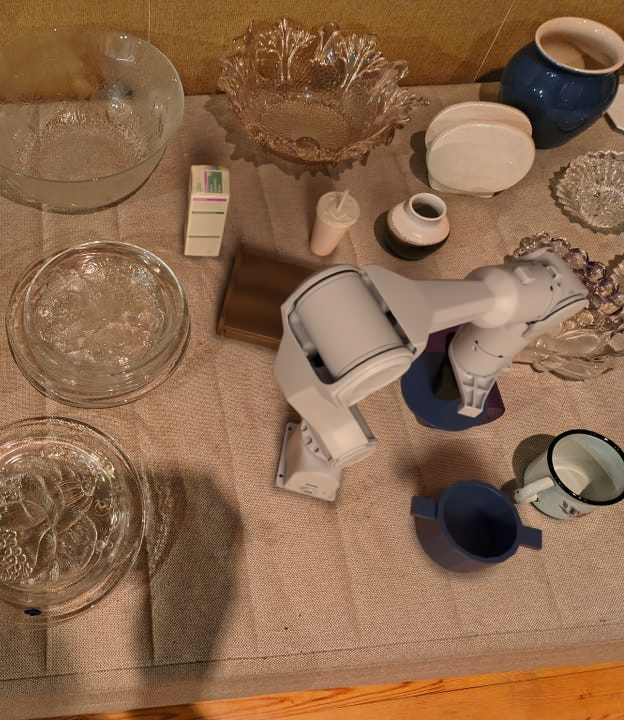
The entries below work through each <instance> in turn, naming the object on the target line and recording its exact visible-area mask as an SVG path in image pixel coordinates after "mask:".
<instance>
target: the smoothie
mask: <svg viewBox="0 0 624 720" xmlns="http://www.w3.org/2000/svg"><path fill="white" fill-rule="evenodd" d="M349 193H350V188H345V189H344V191H339V190H338V191H337V190H336V191H335V190H333V191H328V192H326V193H324V194H322V196H320V197H319V199H318V201H317V203H316V205H315V212H316V215H315V219H314V225H313V228H312V233H311V239H310V242H309V248H310V250H311V252H312V253H314V254H315V255H318V256H321V257H324V256H325V257H326V256H328V255H330V254H331V253H332V252H333V250H334V249H335V248H336V246H338V244H339V243H340V241H341V239H342V238H343V237H344V235H345V234H346V232H347V231H348V230H349V228H350V227H351V226H353V225H354V224H355V223H356V222H357V221H358V218H359V216H360V213H361V208H360V204H359V203H358V201H357V200H356V199H355V198H354V196H351V195H350V194H349Z"/></svg>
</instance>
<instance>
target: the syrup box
mask: <svg viewBox="0 0 624 720" xmlns="http://www.w3.org/2000/svg"><path fill="white" fill-rule="evenodd" d="M230 185H231V184H230V167H229V166H225V165H215V164H213V165H211V164H202V165H201V164H200V165H193V164H192V165H191V166H190V174H189V181H188V189H187V199H186V206H185V207H186V208H185V216H184V226H183V255H185V256H193V257H195V256H196V257H219V255H220V251H221V246H222V241H223V236H224V231H225V226H226V221H227V215H228V209H229V205H230V198H231V186H230Z"/></svg>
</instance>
